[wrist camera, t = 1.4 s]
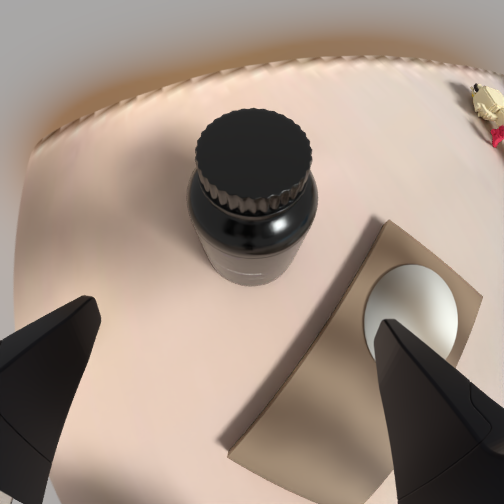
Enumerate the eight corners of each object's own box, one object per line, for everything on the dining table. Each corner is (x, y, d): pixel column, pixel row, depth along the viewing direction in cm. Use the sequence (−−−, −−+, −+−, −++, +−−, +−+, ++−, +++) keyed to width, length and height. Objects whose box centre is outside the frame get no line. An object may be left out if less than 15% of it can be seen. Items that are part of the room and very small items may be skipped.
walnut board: (348, 509, 15) (352, 517, 14) (228, 451, 18) (226, 458, 16) (475, 299, 21) (484, 296, 19) (383, 225, 23) (389, 218, 22)
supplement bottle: (223, 301, 21) (188, 252, 10) (197, 220, 23) (153, 117, 12) (310, 270, 22) (365, 193, 10) (276, 194, 24) (293, 81, 12)
